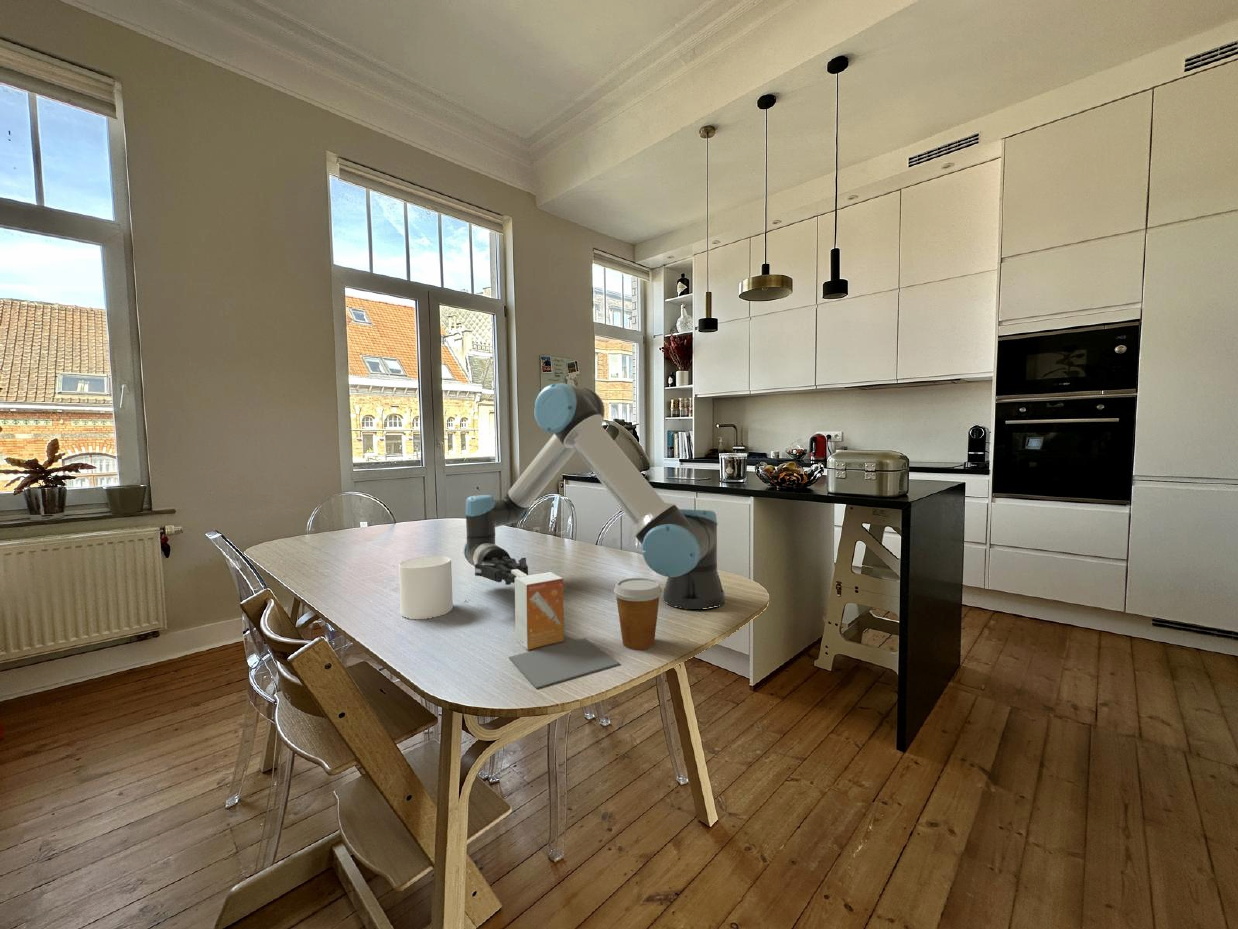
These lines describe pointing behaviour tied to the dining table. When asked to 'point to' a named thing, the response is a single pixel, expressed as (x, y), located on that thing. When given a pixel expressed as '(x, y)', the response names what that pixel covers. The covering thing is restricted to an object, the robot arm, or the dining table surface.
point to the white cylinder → (425, 587)
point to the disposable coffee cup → (638, 611)
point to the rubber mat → (562, 662)
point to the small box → (539, 610)
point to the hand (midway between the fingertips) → (524, 582)
